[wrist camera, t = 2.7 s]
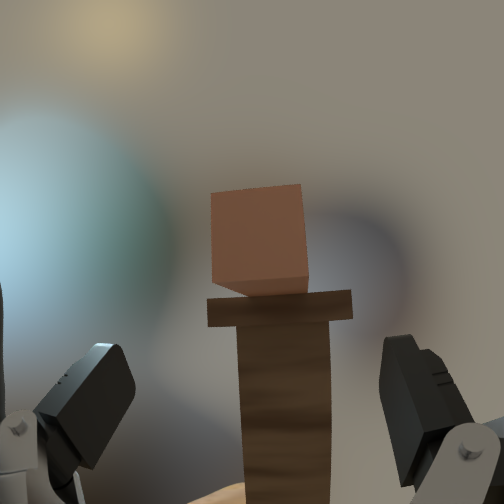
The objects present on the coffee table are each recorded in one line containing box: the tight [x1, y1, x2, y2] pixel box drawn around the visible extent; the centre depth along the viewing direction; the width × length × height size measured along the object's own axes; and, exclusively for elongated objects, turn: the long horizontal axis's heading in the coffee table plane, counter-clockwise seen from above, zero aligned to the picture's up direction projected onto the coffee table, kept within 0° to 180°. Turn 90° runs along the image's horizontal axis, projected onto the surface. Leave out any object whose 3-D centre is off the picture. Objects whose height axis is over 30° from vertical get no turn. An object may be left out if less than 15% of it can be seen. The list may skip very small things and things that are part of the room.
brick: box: [211, 184, 309, 297], centre depth 24 cm, size 22×4×4 cm, turn 171°
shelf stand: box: [207, 290, 353, 504], centre depth 26 cm, size 14×10×30 cm
